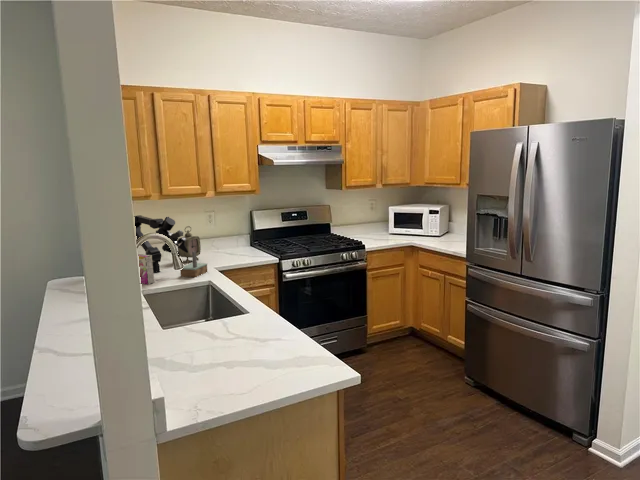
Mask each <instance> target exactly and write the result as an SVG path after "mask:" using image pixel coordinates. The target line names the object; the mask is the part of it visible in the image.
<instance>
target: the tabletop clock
mask: <svg viewBox="0 0 640 480" xmlns="http://www.w3.org/2000/svg"><path fill="white" fill-rule="evenodd" d="M188 228H190V230H187V231H186V229H188ZM191 231H192V227H191V226H189V225H188V226H185V227H184V232H185V234H184V235H183V236H181V237H180V238H182V237H185V238H186V242H185V245H186V247H187V250H188V253H186V252H185V251H183V250H181V249H180V248H178V247H177V251H178V252H179V254H180V256H179V257H181V258H186V260H185V261H186V263H187V264H190V260H189V259H190V258H192V252H196V259H197V261H199V259H200V257H198V256H199V255H201V250H202V249H201V239H200V237H199V236H198V235H195V236H194V235H193V234H192V233H191ZM178 240H179V239H178ZM178 240H177V241H178Z"/></svg>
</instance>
